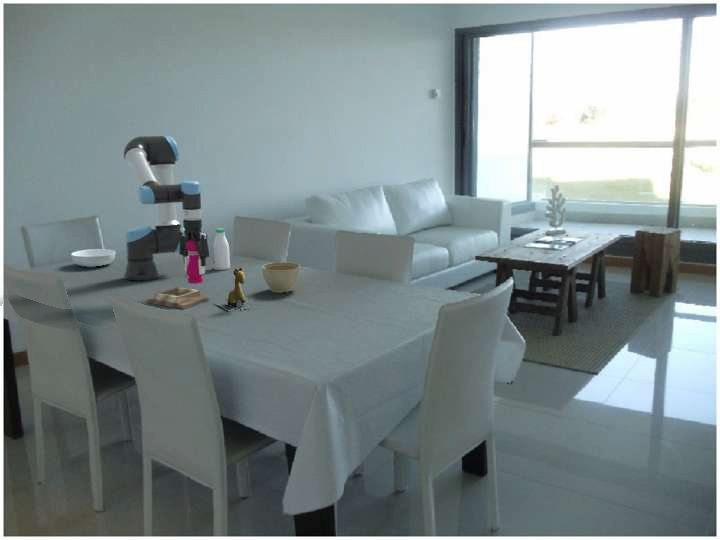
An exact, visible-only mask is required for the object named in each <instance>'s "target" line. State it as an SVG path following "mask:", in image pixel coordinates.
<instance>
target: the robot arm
mask: <svg viewBox="0 0 720 540" xmlns="http://www.w3.org/2000/svg"><path fill="white" fill-rule="evenodd" d="M179 153H180V151H179V148H178V144H177V141H176V140H175V139H174V137H172V136H169V135H168V136H167V135H154V136H153V135H152V136H149V135H147V136H142V135H141V136H136V137H134V138H132V139H131V140H129V141H128V142H127V143H126V145H125V147H124V149H123V159H124V161H125V164H126V165H128V166H129V167H130V168H131V171H132V173H133V175H134V177H135V179H136V181H137V183H138V185H139V187H138V191H137V192H138V199H139V202H140V204H142V205H156V213H157V221H156V223H155V224H154V226H155V227H154V228H152V226H148V225H147V226H138V227H134V228H130V229H128V230H127V231H126V232H125V245H126V258H127V264H126V268H125V272H124V279H125V280H126V279H127V280H126V281H130V280H138V281H137V282H140V280H145V281H151V280H155V279H157V278H159V277H160V273H159V270H158V268H157V265H156V263H155V262H156V261H155V259H154V258H155V257H154V255H159V254H169V253H173V254H174V253H177V252H178V253H179V255H180V256H182V257H183V263H184V264H183V265H184V272H185V273H186V270H187V267H188V264H189V254H188V251H189V250H188V249H187V247H186V244H187V242H188V241H189V240H193V241H194V243H195V244H196V245H197V250H198V253H199V274H203V275H204V274H205V273H206V266H207V265H206V263H207V261H206V259H207V258H209V257H210V252H209V243H208V233H203V232H202V227H203V220H202V219H201V218H202V217H203V216H202V205H201V204H202V202H201V201H202V199H201V192H202V191H201V190H202V189H201V185H200V182H199V181H195V180H186V181H182V182H181V183H177V184H174V183H175V182H174V171H173V169H174V168H175V167H176V162H177V161H178V162H179V160H180V158H179V157H180V154H179ZM176 203H181V205H182V207H181V208H182V219H183V220H182V223H183V226H182V225H181V222H179V220H178V216H177V206H176ZM198 240H199V241H198ZM150 279H151V280H150Z"/></svg>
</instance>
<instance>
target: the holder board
mask: <svg viewBox="0 0 720 540" xmlns="http://www.w3.org/2000/svg"><path fill="white" fill-rule="evenodd" d="M206 301H207V302H209V301H210V297H209V296H205V295H204V296H203V295H201V290H199V289H193V288H187V287H186V288H185V287H178V286H176V287H173V288H169V289H166V290H163V291H159V292H156V293H154V296H152V297H149V298H147V299H146V302H147V303H148V304H152V305H153V304H154V305H159V306H166V307H171V308H178V309H183V310H185V309H189V308H191V306H192V307H194V305H195V306H198V305H200V303H201V304H203V303H202V302H204V303H207V302H206ZM197 304H198V305H197Z"/></svg>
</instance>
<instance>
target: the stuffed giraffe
mask: <svg viewBox="0 0 720 540" xmlns="http://www.w3.org/2000/svg"><path fill="white" fill-rule="evenodd" d="M244 272H245V270H244V269H243V268H242V267H239V269H238V268H234V270H233V271H232V273H233V274H234V275H233V276H235V277H234V288H233V289H232V290H231V291H229V293H228V296H227V297H228V298H227V299H226V300H227V301H226V303H228V304H227V305H226V304H223V303H222V304H221V303H216V305H215V306H219V307H220V308H222V309H223V310H224V311H226V312H227V311H228V310H231V309H233V308H234V309H236V310H240V309H238V308H241V307H240V306H242V305H244V304H245V303H246V302H245V301H246V300H245V299H247V297H245V295H244V293H243V289H242V285H243V284H244V283H245V282H246V281H245V279H246V278H245V274H244ZM250 299H251V300H252V299H253V298H250ZM251 304H252V305H253V304H254V303H251ZM230 305H231V306H230ZM247 305H248V304H245V305H244V306H246V307H249V306H247ZM241 309H242V308H241ZM236 310H235V311H236ZM240 311H244V310H243V309H242V310H240Z"/></svg>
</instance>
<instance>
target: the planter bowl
mask: <svg viewBox="0 0 720 540" xmlns="http://www.w3.org/2000/svg"><path fill="white" fill-rule="evenodd" d="M300 269H301V265H300V264H299V263H296V262H289V261H282V262H281V261H279V262H269V263H266V264H265V263H264V264H263V265H262V266H261V270H262V275H263V279H264V282H265V283H266V285H267V286H268V288H270V289H269V290H270V292H272V293H277V294H283V292H286V293H290V292H289V291H291V292H292V291H294V287H295V286H296V284H297V282H298V280H299V277H300Z"/></svg>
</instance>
